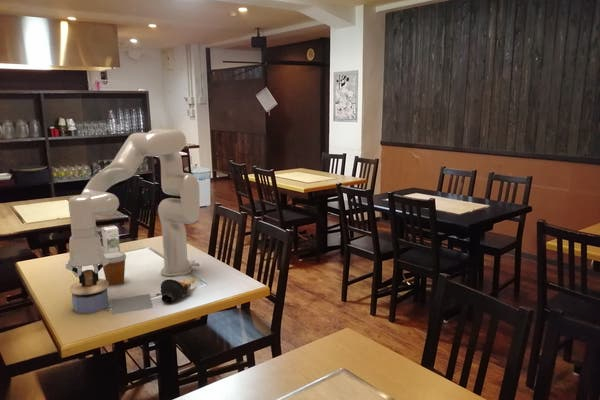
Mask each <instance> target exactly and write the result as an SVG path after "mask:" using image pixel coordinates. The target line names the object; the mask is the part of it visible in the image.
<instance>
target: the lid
mask: <svg viewBox="0 0 600 400" xmlns="http://www.w3.org/2000/svg"><path fill="white" fill-rule="evenodd" d="M82 271H83V276H84V286H83V287H82V283H81V284H80V283H79V281H76V282H75V283H73V284H72V285H70V287H69V290H70V291H69V292H70V293H71V294H72V293H73V294H77V295H87V294H93V293H97V292H100V291H103V290H105V289H106V288H107V289H108V288H109V287H110V286H109V282H108V281H107V280H106V278H99V281H97V285H95V284H94V277H93V272H94V269H85V270H82Z"/></svg>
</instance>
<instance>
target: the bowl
mask: <svg viewBox="0 0 600 400" xmlns="http://www.w3.org/2000/svg"><path fill="white" fill-rule="evenodd" d="M71 299H72V300H71V301H72V309H73V311H74V312H76V313H78V314H92V313H97V312H100V311H103V310H104V309H107V307H108V306H109V290H108V287H107V288H106V289H105V290H103V291H100V292H97V293H93V294H87V295H77V294H73V293H71Z"/></svg>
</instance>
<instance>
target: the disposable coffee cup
mask: <svg viewBox="0 0 600 400" xmlns="http://www.w3.org/2000/svg"><path fill="white" fill-rule="evenodd" d="M103 255H104V256H105V257H106V259H107V260H108V261H109V263H108V264H107V265H105V266H104V267H102V269H103V274H104V277H105V278H104V279H105V280H107V281H108V282H109V286H108V287H110V286H119V285H124V284H125V270H126V258H127V255H126V252H124V251H113V252H107V253H104V254H103Z"/></svg>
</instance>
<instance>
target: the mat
mask: <svg viewBox="0 0 600 400" xmlns="http://www.w3.org/2000/svg"><path fill="white" fill-rule="evenodd" d="M151 298H152V297H151V294H150V293H146V294H139V295H134V296H133V295H132V296H126V297H119V298H112V299H111V314H112V315H116V314H123V313H129V312H130V313H131V312H134V311H135V312H136V311H142V310H147V309H148V310H149V309H153V308H154V307H153V302H152V299H151Z"/></svg>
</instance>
